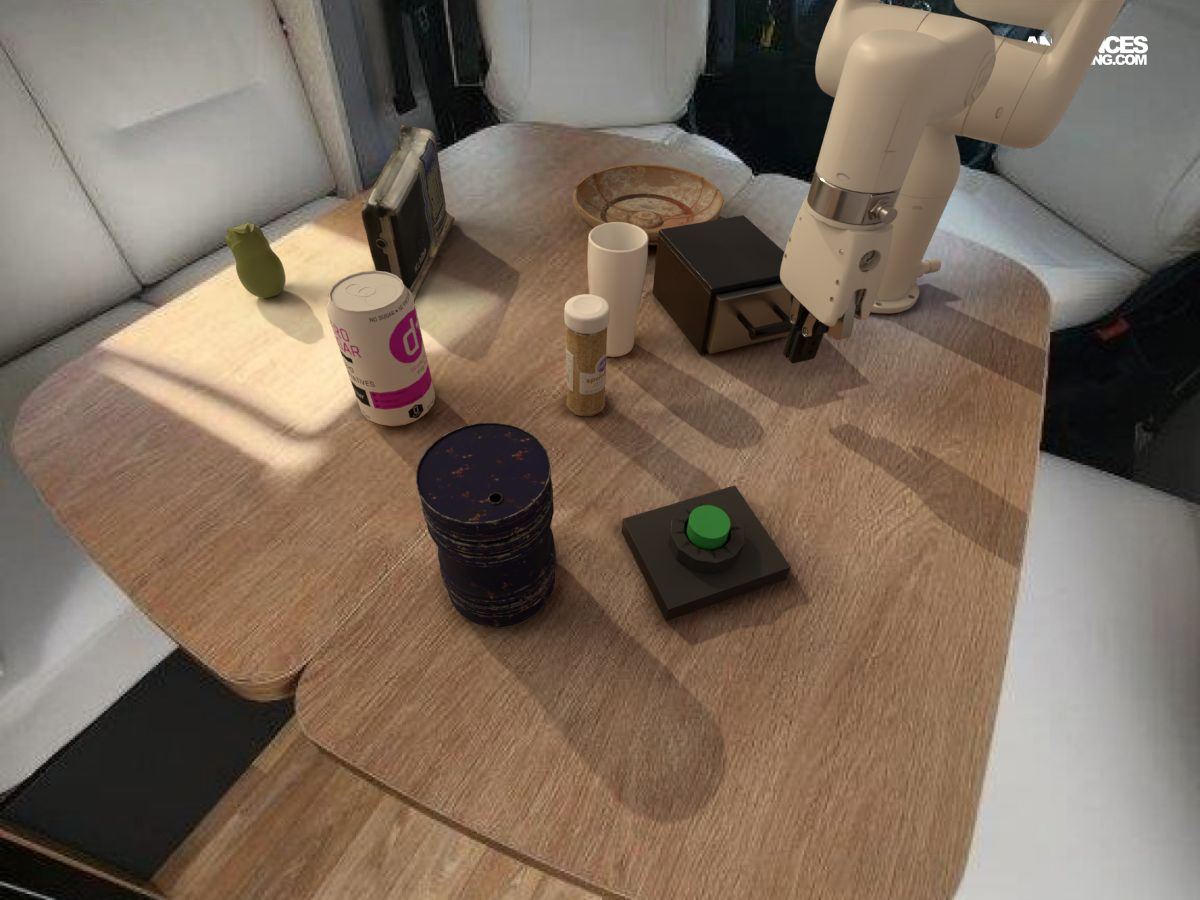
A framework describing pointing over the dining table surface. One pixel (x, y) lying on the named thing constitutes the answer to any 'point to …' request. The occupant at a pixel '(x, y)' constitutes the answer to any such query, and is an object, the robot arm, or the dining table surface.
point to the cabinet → (710, 269)
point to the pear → (256, 261)
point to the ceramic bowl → (647, 198)
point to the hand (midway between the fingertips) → (798, 356)
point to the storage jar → (491, 521)
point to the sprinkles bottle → (586, 353)
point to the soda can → (381, 346)
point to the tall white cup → (618, 278)
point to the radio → (408, 210)
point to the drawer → (749, 316)
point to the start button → (708, 527)
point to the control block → (702, 555)
